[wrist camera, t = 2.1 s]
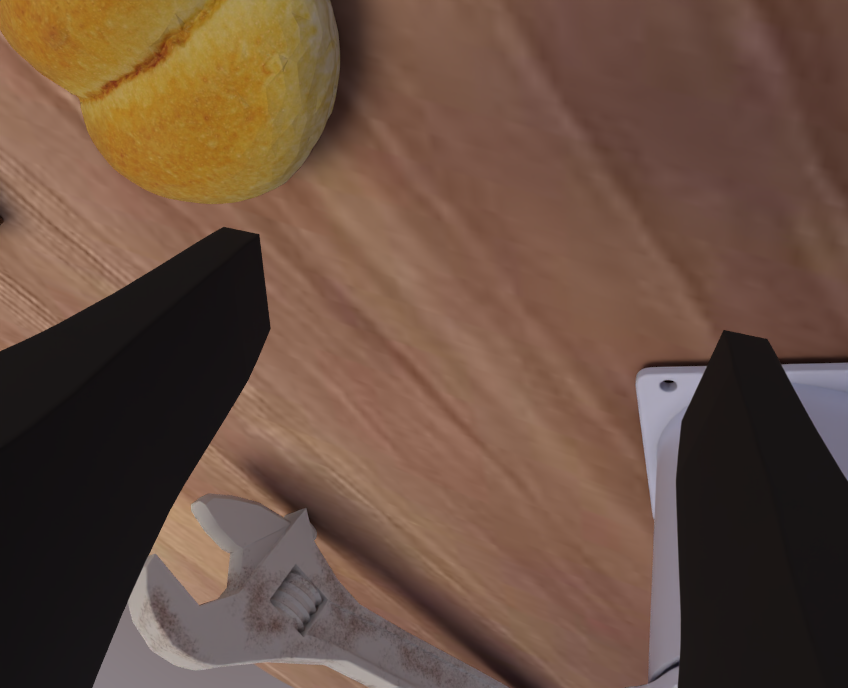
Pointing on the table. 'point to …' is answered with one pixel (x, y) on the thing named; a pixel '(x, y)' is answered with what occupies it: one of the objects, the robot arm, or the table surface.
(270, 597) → the wrench
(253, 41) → the bread roll
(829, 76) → the table surface
